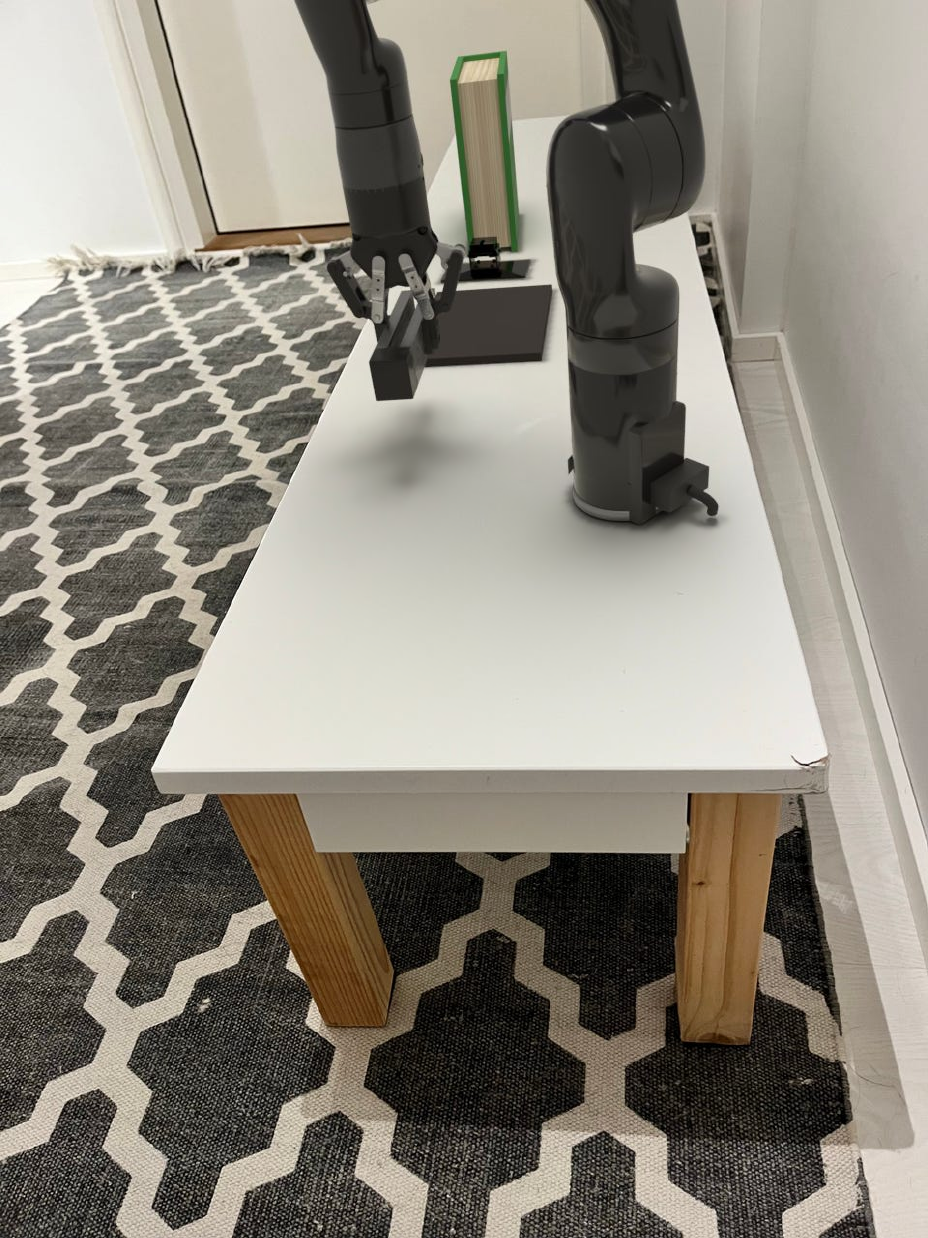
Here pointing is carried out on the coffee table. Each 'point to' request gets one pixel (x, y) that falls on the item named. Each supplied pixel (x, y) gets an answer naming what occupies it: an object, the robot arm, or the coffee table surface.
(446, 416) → the coffee table surface
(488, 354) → the mat
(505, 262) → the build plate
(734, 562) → the coffee table surface
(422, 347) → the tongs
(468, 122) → the hardback book
